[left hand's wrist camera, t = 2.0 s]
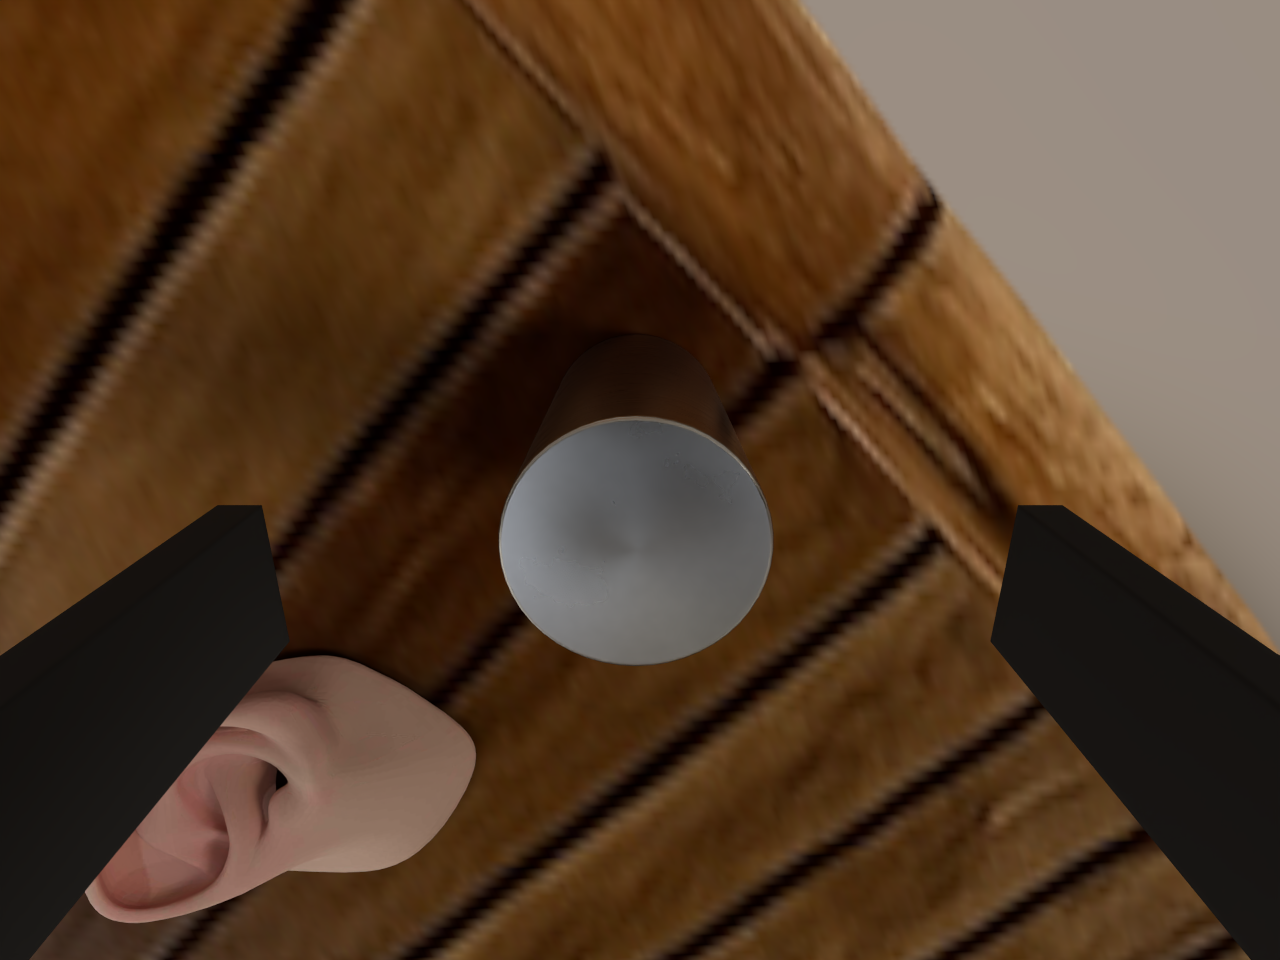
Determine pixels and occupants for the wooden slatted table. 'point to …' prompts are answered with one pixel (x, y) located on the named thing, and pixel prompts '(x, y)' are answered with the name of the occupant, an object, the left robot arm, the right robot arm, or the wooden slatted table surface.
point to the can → (636, 510)
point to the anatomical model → (294, 791)
